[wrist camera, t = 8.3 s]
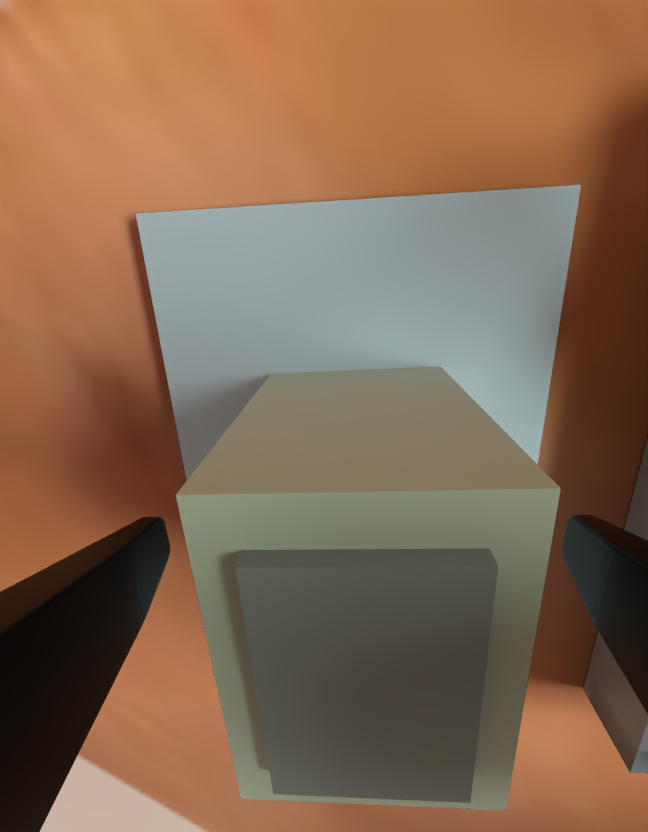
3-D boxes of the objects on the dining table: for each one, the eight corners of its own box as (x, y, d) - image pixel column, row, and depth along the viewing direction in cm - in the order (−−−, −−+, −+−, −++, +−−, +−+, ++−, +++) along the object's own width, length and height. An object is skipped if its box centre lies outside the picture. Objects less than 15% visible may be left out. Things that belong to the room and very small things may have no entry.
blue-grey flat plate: (503, 646, 14) (507, 656, 13) (222, 640, 14) (218, 650, 14) (571, 188, 9) (580, 184, 8) (143, 215, 9) (135, 213, 9)
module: (432, 557, 12) (512, 835, 6) (290, 558, 12) (236, 822, 6) (441, 366, 10) (575, 504, 4) (271, 373, 10) (164, 509, 4)
